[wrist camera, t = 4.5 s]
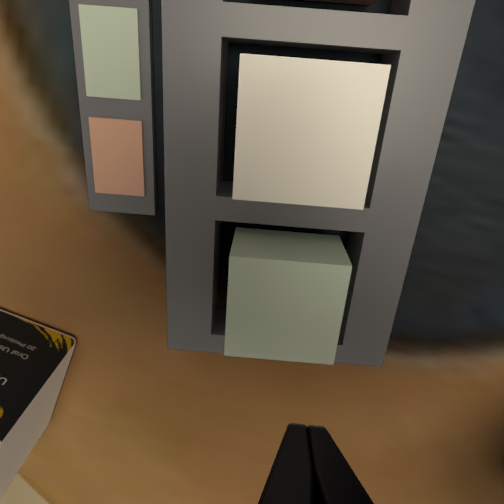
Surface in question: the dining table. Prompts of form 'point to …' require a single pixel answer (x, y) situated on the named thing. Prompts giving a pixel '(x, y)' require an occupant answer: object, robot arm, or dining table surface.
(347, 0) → the key terracotta
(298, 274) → the key sage
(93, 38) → the strip
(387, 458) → the dining table surface
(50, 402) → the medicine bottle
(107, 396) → the dining table surface
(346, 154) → the key ivory
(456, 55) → the keypad frame
